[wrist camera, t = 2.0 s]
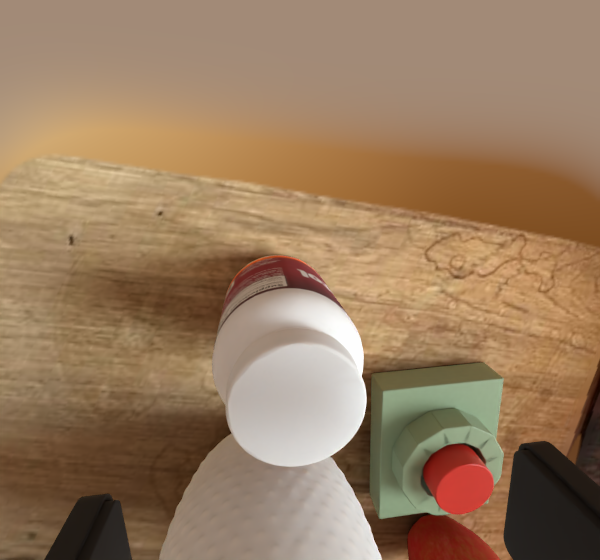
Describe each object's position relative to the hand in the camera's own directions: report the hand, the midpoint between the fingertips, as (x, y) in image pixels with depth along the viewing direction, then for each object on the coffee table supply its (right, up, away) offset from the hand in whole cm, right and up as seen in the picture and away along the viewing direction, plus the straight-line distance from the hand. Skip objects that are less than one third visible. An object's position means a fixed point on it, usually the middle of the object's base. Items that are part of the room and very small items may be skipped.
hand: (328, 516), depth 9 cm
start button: (+9, -6, +14) cm, 18 cm away
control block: (+8, -5, +18) cm, 20 cm away
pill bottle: (-2, +4, +14) cm, 15 cm away
